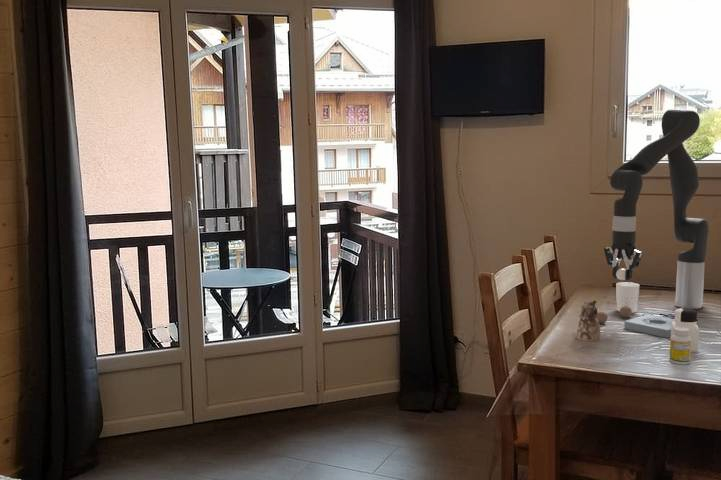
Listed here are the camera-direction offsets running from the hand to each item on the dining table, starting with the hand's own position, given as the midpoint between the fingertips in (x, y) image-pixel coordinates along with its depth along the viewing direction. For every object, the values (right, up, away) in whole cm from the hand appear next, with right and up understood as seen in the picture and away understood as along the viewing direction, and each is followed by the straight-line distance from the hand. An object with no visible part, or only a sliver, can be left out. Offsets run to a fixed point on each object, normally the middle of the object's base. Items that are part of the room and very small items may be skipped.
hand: (622, 278), depth 247 cm
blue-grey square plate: (+9, -16, -8) cm, 20 cm away
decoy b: (-7, -13, 0) cm, 15 cm away
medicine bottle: (+8, -20, -30) cm, 36 cm away
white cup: (+8, -13, +17) cm, 23 cm away
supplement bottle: (+1, -21, -43) cm, 48 cm away
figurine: (-17, -18, -18) cm, 31 cm away
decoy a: (+4, -12, +8) cm, 15 cm away
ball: (0, +2, 0) cm, 1 cm away
